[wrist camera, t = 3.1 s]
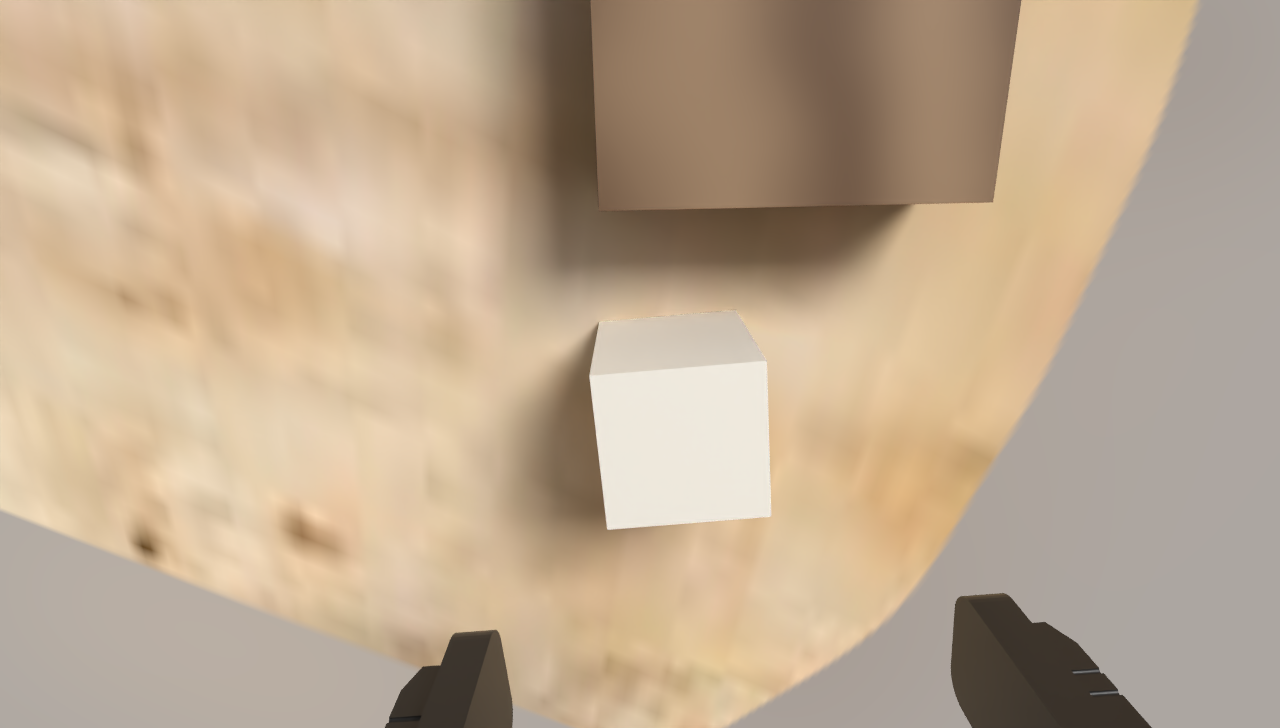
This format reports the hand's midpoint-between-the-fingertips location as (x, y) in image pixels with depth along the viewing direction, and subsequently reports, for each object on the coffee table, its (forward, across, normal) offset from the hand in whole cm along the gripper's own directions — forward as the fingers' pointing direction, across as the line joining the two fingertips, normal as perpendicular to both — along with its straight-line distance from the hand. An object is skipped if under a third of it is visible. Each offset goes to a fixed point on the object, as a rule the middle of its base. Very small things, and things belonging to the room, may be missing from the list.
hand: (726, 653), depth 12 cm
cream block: (+14, 0, 0) cm, 14 cm away
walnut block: (+14, -4, -12) cm, 19 cm away
